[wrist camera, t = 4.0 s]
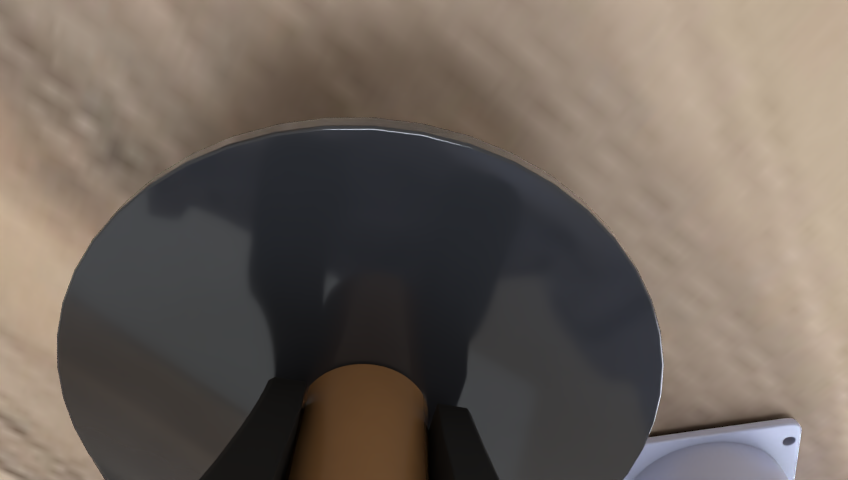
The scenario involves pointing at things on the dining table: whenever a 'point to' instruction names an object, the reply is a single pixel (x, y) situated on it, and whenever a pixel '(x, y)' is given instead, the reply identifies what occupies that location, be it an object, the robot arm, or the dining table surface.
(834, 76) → the dining table surface
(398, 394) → the lid
